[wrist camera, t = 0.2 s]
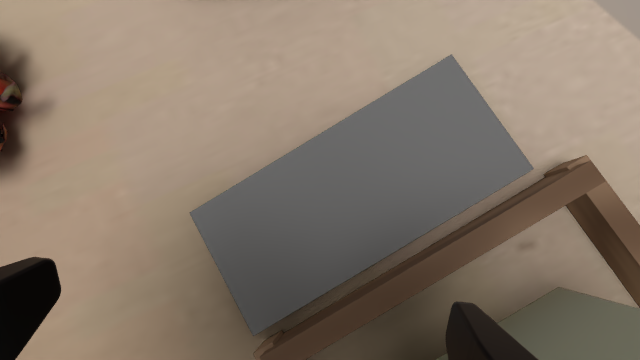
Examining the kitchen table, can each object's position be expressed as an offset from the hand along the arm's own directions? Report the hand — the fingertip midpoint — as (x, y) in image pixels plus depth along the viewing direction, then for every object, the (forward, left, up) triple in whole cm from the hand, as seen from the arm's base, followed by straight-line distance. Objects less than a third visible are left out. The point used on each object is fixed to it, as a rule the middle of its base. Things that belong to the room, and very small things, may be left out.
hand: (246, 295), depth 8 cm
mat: (+2, -4, -15) cm, 15 cm away
